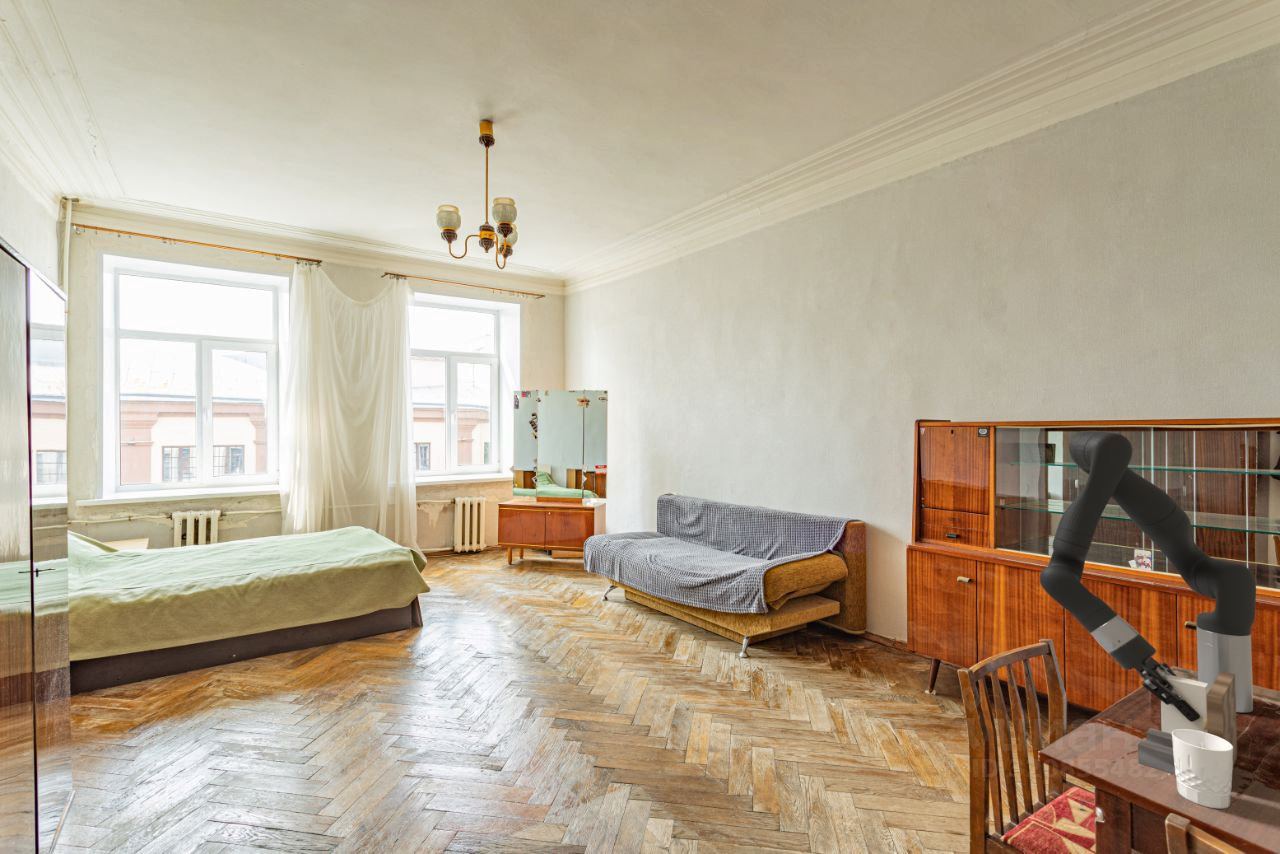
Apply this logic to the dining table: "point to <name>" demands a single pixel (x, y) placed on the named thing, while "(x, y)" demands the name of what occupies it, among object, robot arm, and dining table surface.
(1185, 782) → the white cup
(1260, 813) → the dining table surface
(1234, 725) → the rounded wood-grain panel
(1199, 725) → the plain white rectangular block
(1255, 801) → the dining table surface
